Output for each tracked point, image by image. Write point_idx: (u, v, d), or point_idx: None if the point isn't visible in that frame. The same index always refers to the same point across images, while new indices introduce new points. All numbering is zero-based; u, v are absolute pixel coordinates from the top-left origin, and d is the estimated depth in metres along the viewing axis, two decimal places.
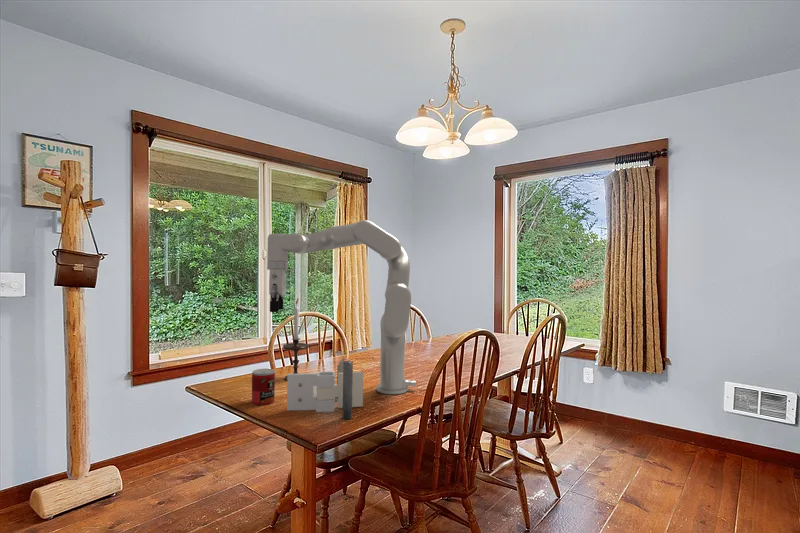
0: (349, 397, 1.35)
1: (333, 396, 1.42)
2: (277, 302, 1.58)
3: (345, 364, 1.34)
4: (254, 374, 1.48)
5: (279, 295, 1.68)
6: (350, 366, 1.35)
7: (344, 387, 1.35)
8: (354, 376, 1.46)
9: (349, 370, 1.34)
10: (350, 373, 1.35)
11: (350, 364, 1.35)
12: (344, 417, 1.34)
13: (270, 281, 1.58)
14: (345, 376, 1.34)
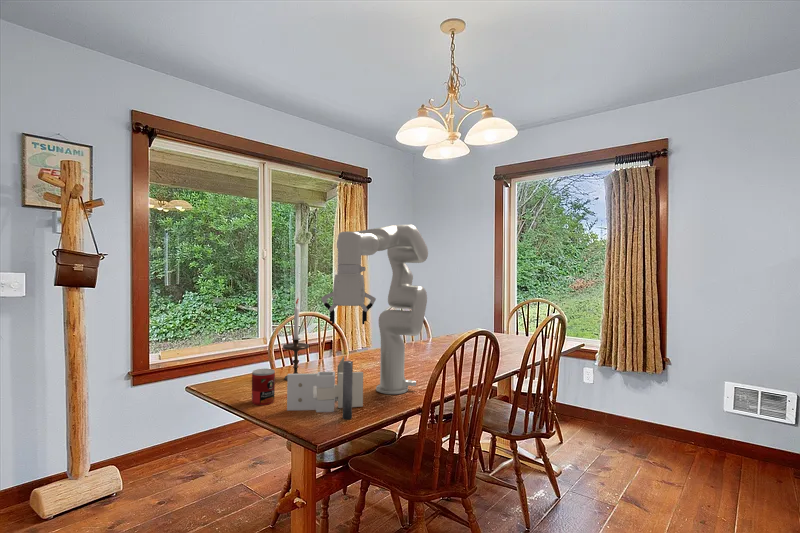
0: (349, 397, 1.35)
1: (333, 396, 1.42)
2: None
3: (345, 364, 1.34)
4: (254, 374, 1.48)
5: None
6: (350, 366, 1.35)
7: (344, 387, 1.35)
8: (354, 376, 1.46)
9: (349, 370, 1.34)
10: (350, 373, 1.35)
11: (350, 364, 1.35)
12: (344, 417, 1.34)
13: (363, 288, 1.35)
14: (345, 376, 1.34)
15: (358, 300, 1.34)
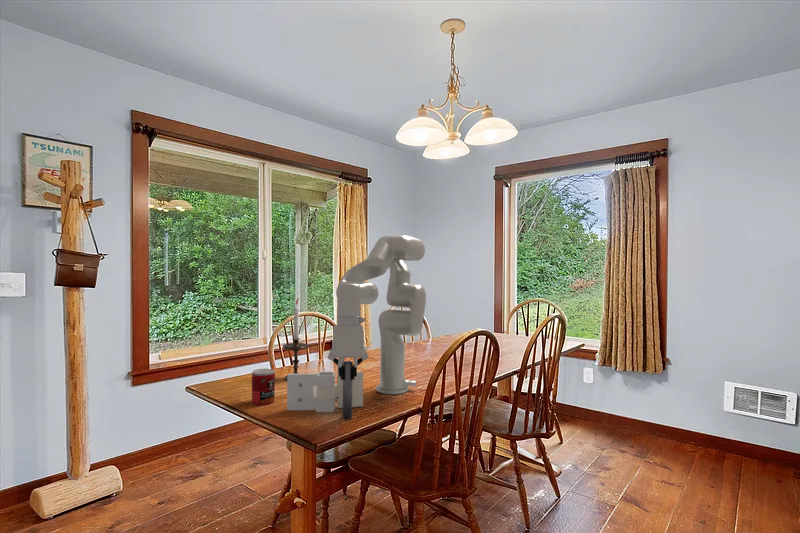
0: (349, 397, 1.34)
1: (333, 396, 1.42)
2: None
3: (345, 364, 1.34)
4: (254, 374, 1.48)
5: None
6: (350, 366, 1.35)
7: (344, 387, 1.35)
8: None
9: (349, 370, 1.34)
10: (350, 373, 1.35)
11: (350, 364, 1.35)
12: (344, 417, 1.34)
13: (363, 340, 1.35)
14: (345, 376, 1.34)
15: (357, 352, 1.34)
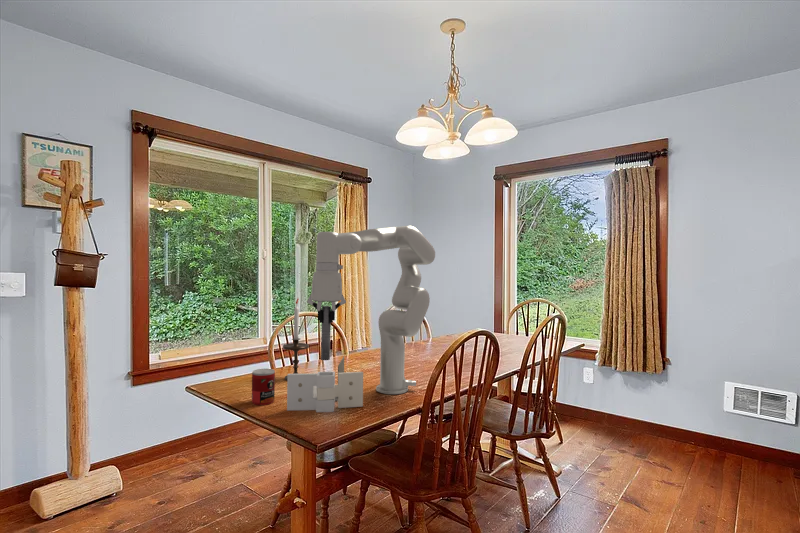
0: (327, 339, 1.42)
1: (333, 396, 1.42)
2: None
3: (323, 308, 1.42)
4: (254, 374, 1.48)
5: None
6: (328, 310, 1.43)
7: (322, 329, 1.43)
8: (354, 376, 1.46)
9: (327, 313, 1.42)
10: (328, 316, 1.43)
11: (328, 308, 1.43)
12: (322, 358, 1.42)
13: (340, 285, 1.43)
14: (323, 319, 1.42)
15: (335, 296, 1.42)
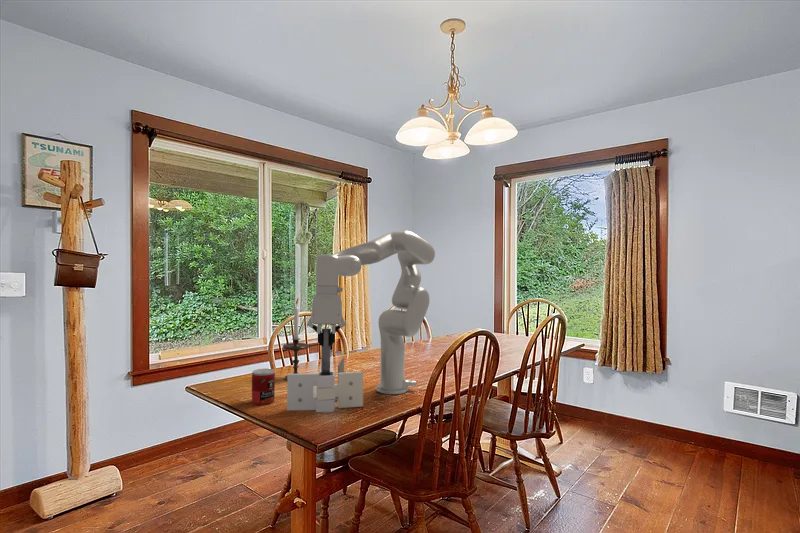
0: (327, 362, 1.43)
1: (333, 396, 1.42)
2: None
3: (323, 331, 1.43)
4: (254, 374, 1.48)
5: None
6: (328, 333, 1.43)
7: (322, 352, 1.43)
8: (354, 376, 1.46)
9: (327, 336, 1.42)
10: (328, 339, 1.43)
11: (328, 331, 1.43)
12: None
13: (340, 308, 1.43)
14: (323, 342, 1.42)
15: (335, 319, 1.42)
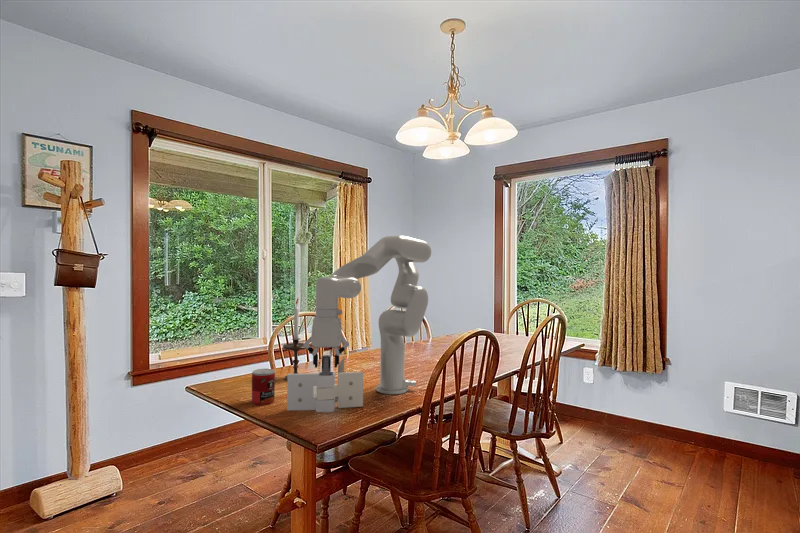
0: None
1: (333, 396, 1.42)
2: None
3: (323, 358, 1.43)
4: (254, 374, 1.48)
5: None
6: (328, 360, 1.43)
7: None
8: (354, 376, 1.46)
9: (327, 363, 1.43)
10: (328, 367, 1.43)
11: (328, 358, 1.43)
12: None
13: (340, 331, 1.43)
14: (323, 369, 1.43)
15: (335, 342, 1.42)
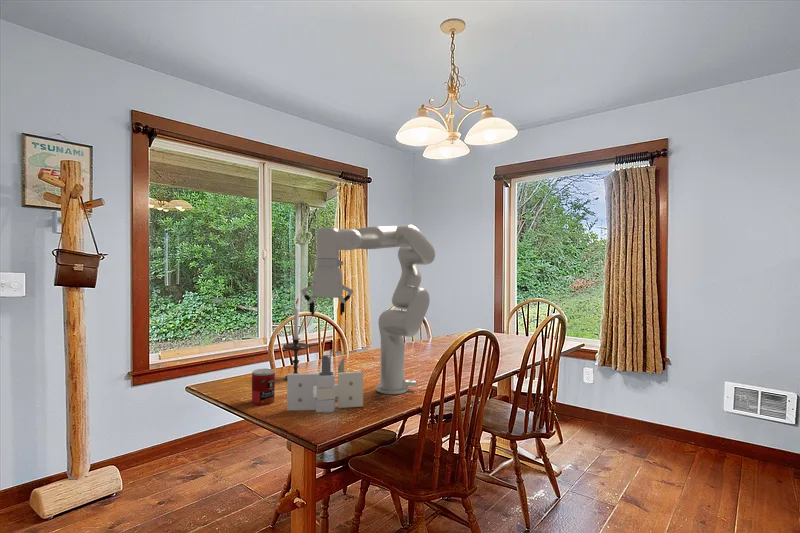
0: None
1: (333, 396, 1.42)
2: None
3: (323, 358, 1.43)
4: (254, 374, 1.48)
5: None
6: (328, 360, 1.43)
7: None
8: (354, 376, 1.46)
9: (327, 363, 1.43)
10: (328, 367, 1.43)
11: (328, 358, 1.43)
12: None
13: (341, 281, 1.43)
14: (323, 369, 1.43)
15: (336, 292, 1.42)
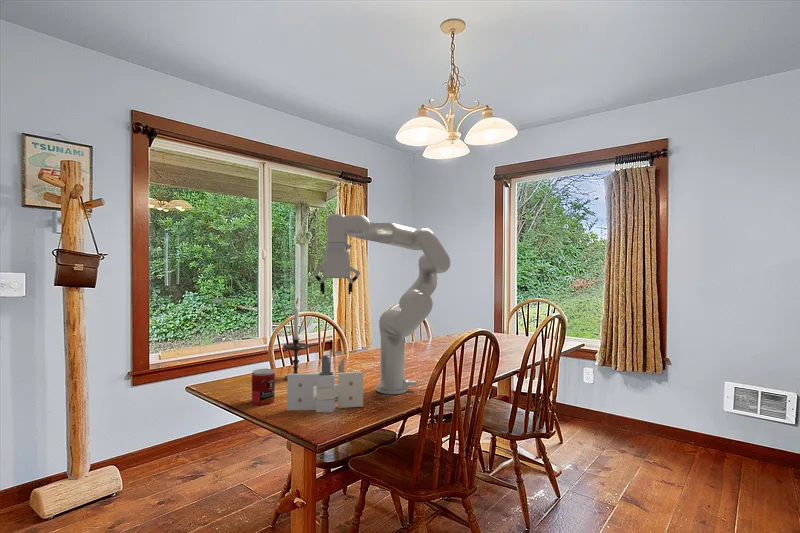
0: None
1: (333, 396, 1.42)
2: None
3: (323, 358, 1.43)
4: (254, 374, 1.48)
5: (321, 279, 1.57)
6: (328, 360, 1.43)
7: None
8: (354, 376, 1.46)
9: (327, 363, 1.43)
10: (328, 367, 1.43)
11: (328, 358, 1.43)
12: None
13: (349, 263, 1.56)
14: (323, 369, 1.43)
15: (345, 273, 1.55)
